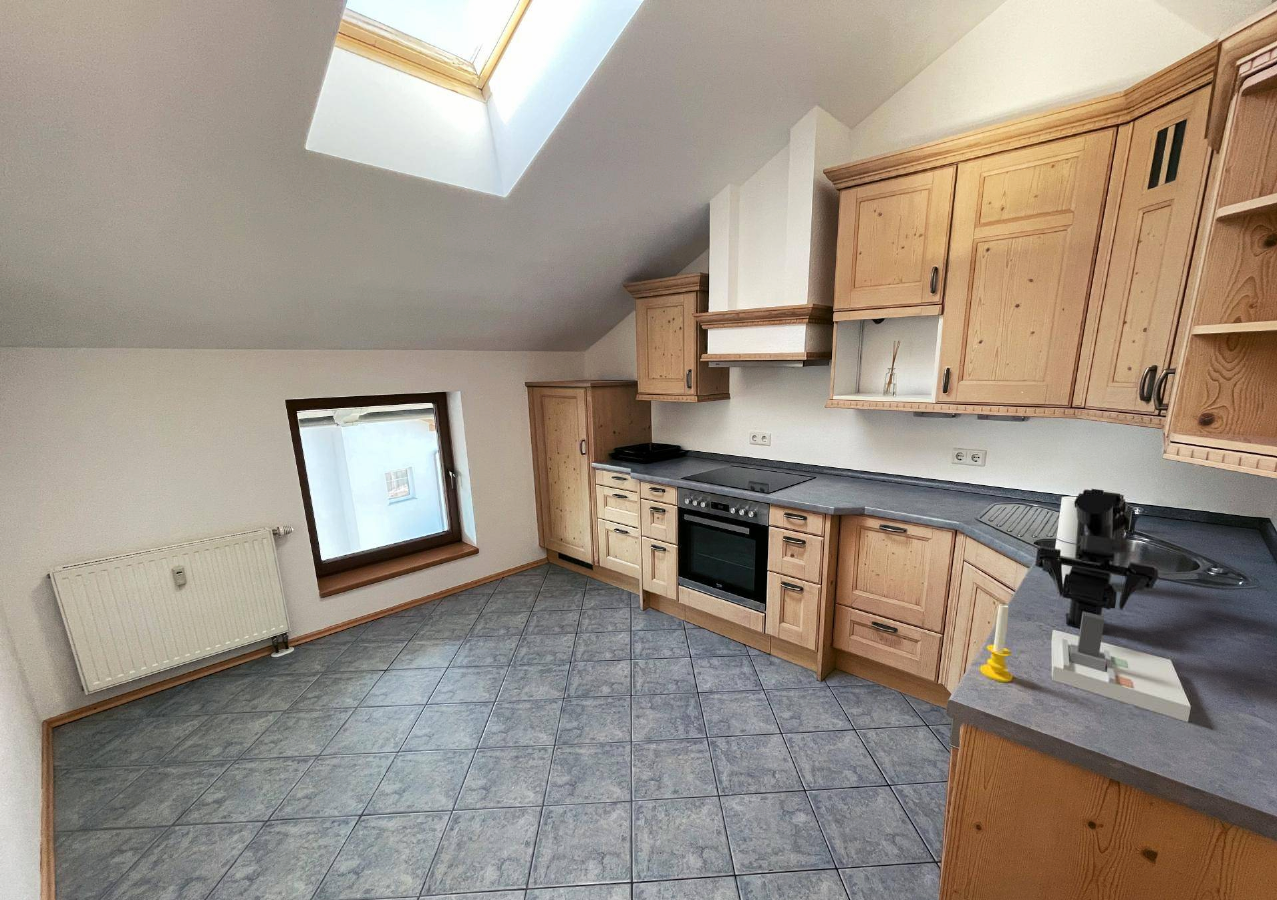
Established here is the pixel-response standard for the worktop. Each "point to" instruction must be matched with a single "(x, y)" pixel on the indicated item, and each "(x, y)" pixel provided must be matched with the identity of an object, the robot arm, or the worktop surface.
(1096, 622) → the handle
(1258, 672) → the worktop surface
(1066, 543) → the cylindrical container
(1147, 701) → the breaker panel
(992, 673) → the candle
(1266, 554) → the worktop surface
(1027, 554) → the worktop surface
